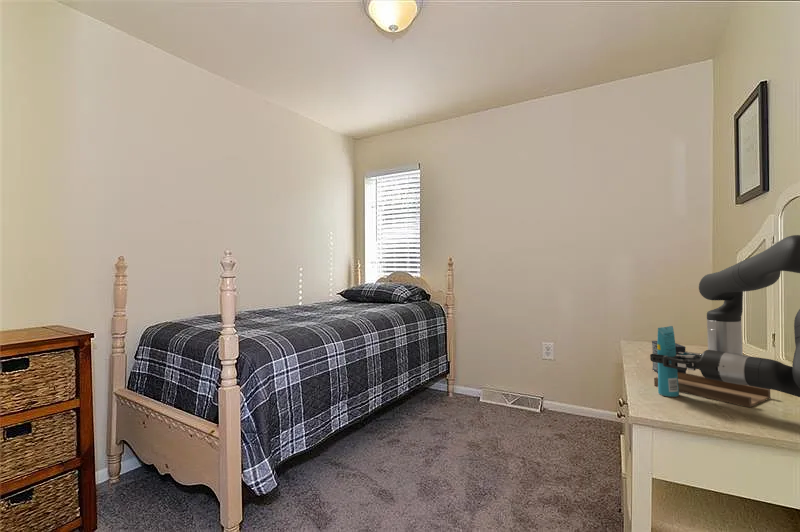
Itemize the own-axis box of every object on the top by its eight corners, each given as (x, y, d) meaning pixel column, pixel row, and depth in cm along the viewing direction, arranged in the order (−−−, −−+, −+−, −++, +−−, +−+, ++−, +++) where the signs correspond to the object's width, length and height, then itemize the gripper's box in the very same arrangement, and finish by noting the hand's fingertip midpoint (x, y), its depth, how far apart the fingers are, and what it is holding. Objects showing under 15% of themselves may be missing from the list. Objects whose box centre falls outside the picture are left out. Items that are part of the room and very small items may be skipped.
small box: (688, 378, 127) (687, 346, 127) (665, 378, 129) (664, 345, 129) (672, 370, 138) (671, 340, 138) (651, 370, 139) (650, 340, 139)
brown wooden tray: (676, 379, 127) (676, 371, 127) (770, 398, 107) (770, 389, 107) (654, 385, 121) (654, 377, 121) (749, 407, 101) (749, 397, 101)
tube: (664, 390, 116) (662, 324, 116) (683, 394, 112) (681, 326, 112) (652, 395, 112) (650, 327, 112) (672, 399, 108) (669, 328, 108)
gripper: (739, 349, 103) (670, 340, 118) (713, 356, 96) (642, 345, 111) (740, 377, 103) (670, 365, 118) (714, 386, 96) (643, 372, 111)
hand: (657, 355), depth 114 cm, fingers closed on tube, 6 cm apart
